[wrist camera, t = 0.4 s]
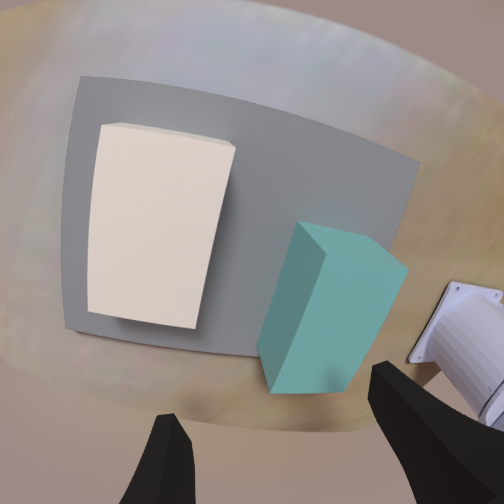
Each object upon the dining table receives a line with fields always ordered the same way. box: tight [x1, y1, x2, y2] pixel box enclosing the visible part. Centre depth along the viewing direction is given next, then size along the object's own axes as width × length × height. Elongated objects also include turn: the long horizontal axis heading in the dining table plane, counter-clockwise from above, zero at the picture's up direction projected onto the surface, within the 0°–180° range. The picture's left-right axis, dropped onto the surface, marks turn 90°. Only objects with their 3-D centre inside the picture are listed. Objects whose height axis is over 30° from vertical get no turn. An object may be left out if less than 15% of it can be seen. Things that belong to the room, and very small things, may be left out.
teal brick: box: [257, 221, 409, 394], centre depth 16 cm, size 4×8×4 cm, turn 166°
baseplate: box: [61, 76, 420, 357], centre depth 15 cm, size 18×14×4 cm
